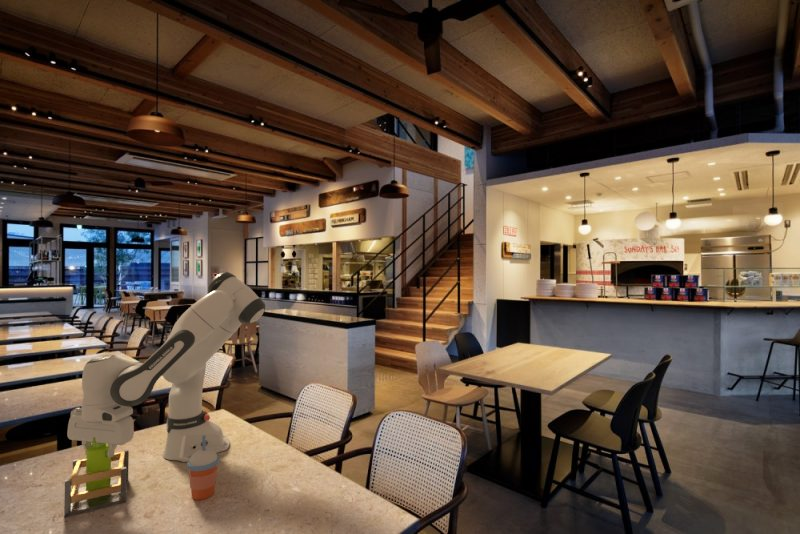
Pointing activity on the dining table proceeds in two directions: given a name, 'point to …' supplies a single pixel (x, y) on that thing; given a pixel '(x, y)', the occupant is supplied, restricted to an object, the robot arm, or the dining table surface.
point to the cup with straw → (203, 472)
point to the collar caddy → (99, 497)
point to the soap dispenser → (97, 464)
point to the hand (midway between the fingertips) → (99, 455)
